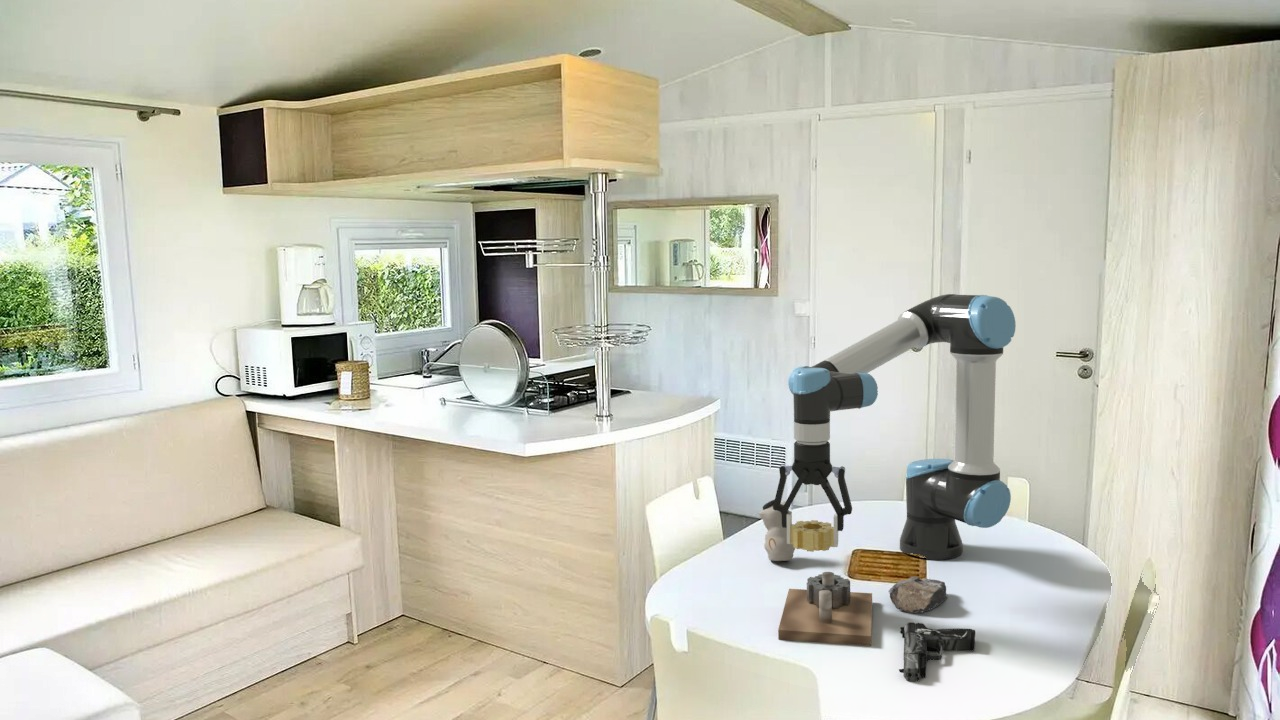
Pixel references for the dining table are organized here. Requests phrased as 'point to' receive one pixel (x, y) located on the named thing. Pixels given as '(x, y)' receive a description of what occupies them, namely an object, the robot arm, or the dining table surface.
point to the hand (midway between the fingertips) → (812, 543)
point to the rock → (917, 594)
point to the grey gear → (838, 590)
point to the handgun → (930, 646)
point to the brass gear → (812, 535)
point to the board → (827, 632)
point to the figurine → (775, 534)
